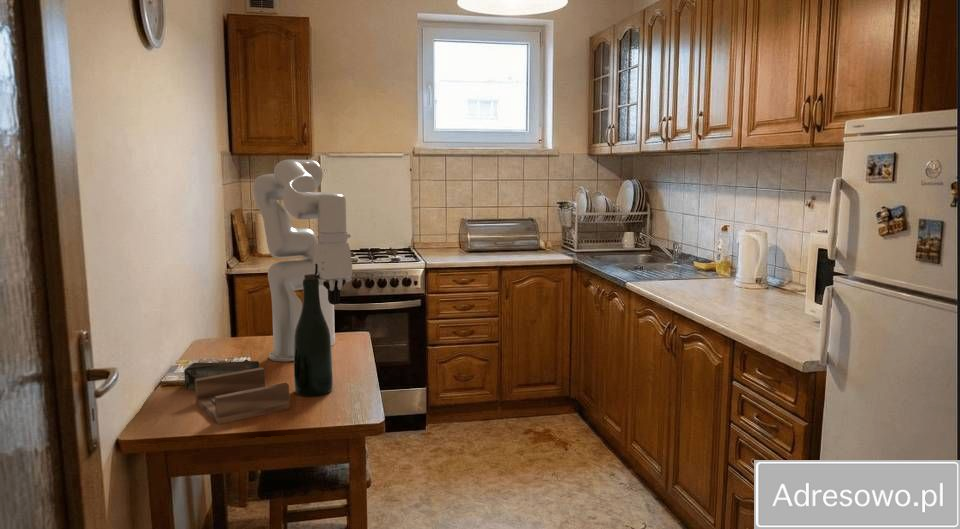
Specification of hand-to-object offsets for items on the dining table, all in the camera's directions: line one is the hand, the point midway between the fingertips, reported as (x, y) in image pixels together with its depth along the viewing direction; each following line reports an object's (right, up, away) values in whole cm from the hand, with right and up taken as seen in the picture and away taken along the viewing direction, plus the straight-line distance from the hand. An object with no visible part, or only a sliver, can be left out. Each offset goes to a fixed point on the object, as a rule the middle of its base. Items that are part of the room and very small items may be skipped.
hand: (334, 303), depth 192 cm
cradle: (-21, -26, -13) cm, 36 cm away
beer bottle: (-6, -25, -1) cm, 25 cm away
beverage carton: (-33, -24, +4) cm, 41 cm away
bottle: (-14, -17, +49) cm, 54 cm away
